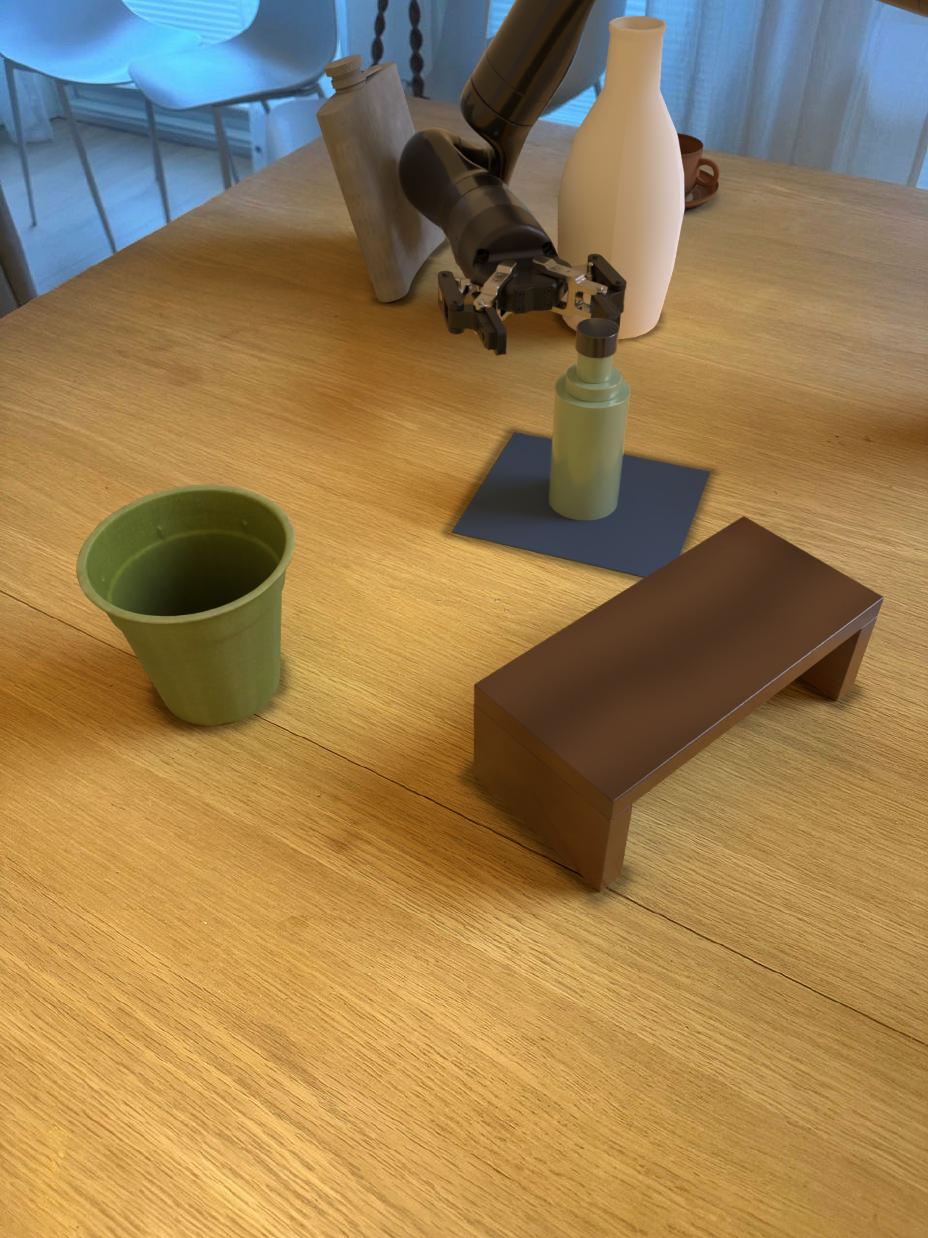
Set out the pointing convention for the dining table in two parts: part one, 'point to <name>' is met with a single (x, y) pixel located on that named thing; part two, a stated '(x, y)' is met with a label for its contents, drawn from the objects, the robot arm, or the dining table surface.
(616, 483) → the spice bottle
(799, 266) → the dining table surface
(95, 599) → the plant pot
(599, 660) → the shelf
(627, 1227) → the dining table surface
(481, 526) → the mat
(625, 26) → the bottle
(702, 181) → the cup and saucer
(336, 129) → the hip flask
